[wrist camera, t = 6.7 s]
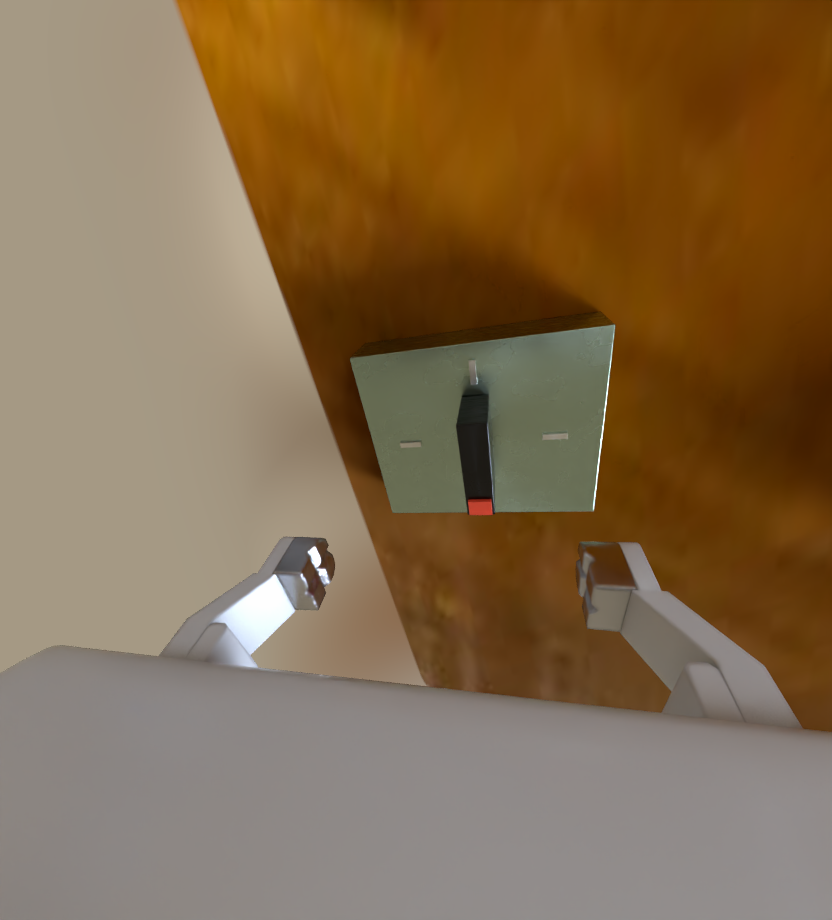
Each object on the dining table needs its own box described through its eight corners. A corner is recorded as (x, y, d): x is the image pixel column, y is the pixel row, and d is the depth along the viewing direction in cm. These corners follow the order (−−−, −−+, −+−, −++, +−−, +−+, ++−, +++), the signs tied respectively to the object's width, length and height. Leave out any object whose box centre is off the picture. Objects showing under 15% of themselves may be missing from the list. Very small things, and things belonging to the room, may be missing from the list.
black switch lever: (461, 396, 21) (455, 427, 18) (489, 394, 20) (488, 425, 17) (470, 479, 24) (467, 517, 21) (495, 478, 23) (495, 517, 20)
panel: (401, 488, 29) (391, 514, 27) (364, 343, 23) (348, 359, 21) (584, 483, 26) (594, 513, 23) (601, 311, 20) (616, 325, 17)
